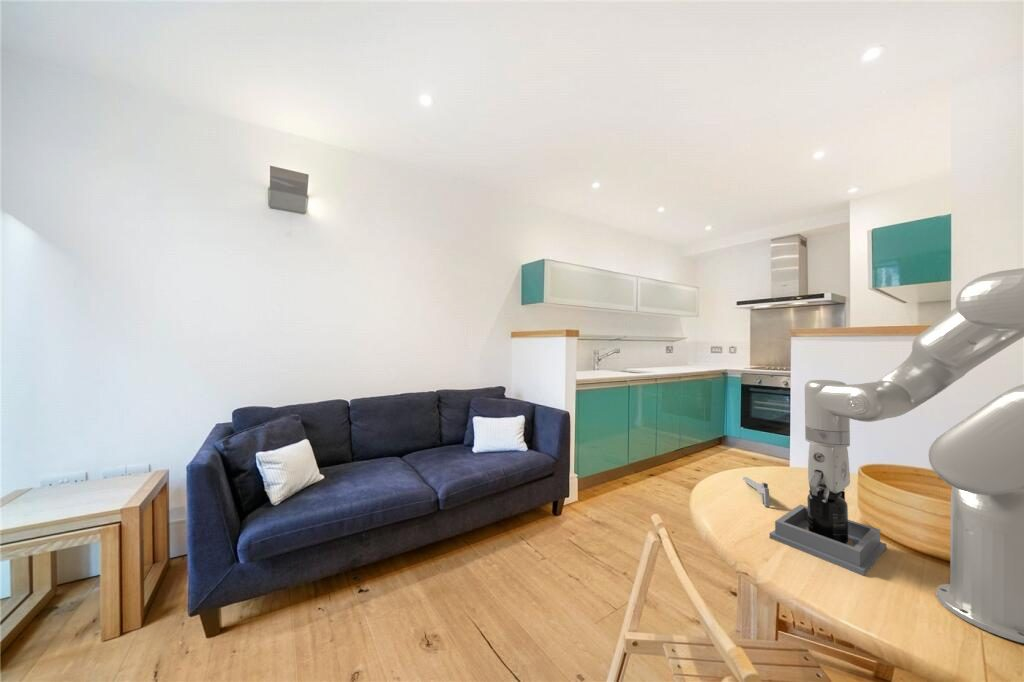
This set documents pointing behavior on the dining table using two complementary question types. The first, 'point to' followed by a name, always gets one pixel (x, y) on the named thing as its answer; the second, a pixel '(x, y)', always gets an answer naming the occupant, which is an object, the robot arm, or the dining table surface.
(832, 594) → the dining table surface
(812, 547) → the housing
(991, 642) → the dining table surface
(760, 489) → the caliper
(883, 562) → the dining table surface
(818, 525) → the supplement bottle
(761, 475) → the dining table surface
